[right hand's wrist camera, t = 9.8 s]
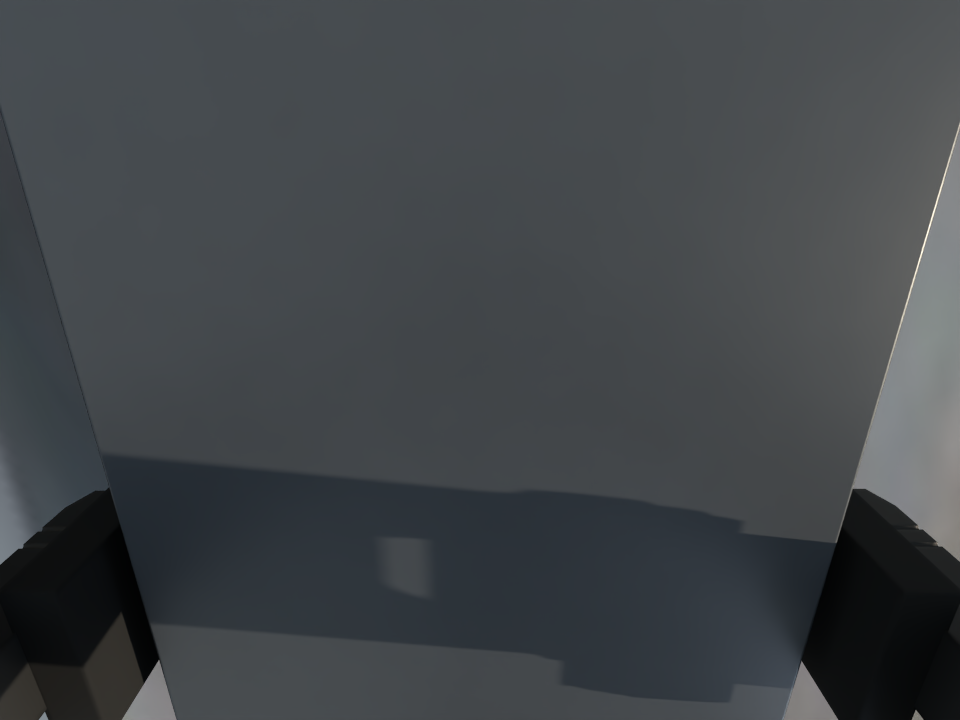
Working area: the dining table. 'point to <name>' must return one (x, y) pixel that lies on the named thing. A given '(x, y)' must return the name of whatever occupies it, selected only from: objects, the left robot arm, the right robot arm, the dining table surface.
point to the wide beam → (481, 331)
